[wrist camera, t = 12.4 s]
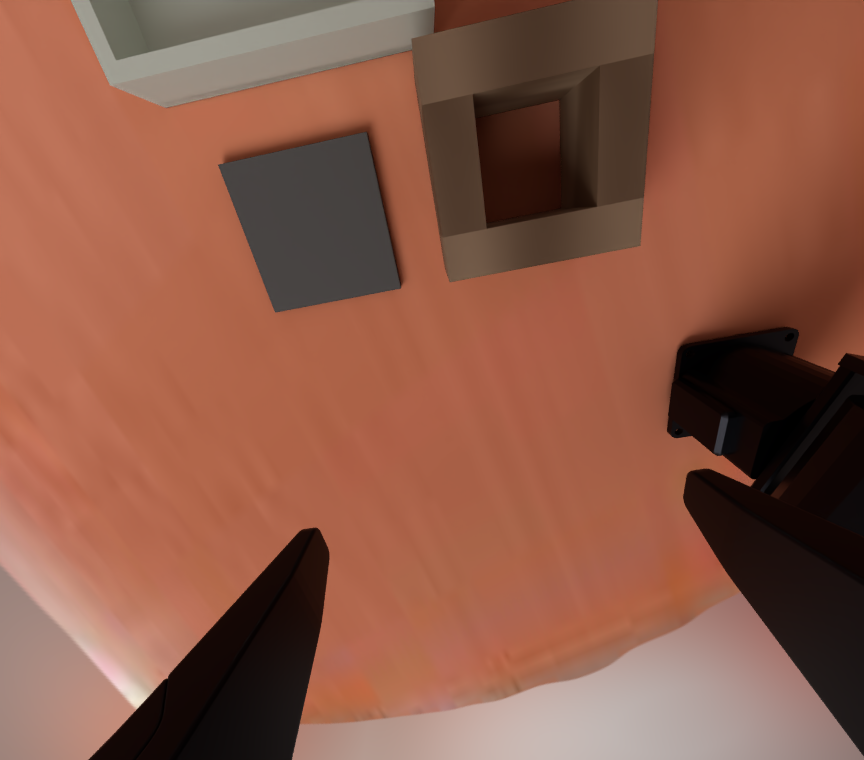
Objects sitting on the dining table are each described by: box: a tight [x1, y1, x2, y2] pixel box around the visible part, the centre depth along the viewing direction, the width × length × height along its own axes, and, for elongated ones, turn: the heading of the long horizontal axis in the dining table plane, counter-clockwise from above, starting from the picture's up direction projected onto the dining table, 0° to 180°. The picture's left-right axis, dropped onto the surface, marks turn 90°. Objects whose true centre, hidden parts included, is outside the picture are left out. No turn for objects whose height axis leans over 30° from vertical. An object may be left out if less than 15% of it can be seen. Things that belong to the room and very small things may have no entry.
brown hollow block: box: [411, 0, 658, 282], centre depth 15 cm, size 8×8×4 cm
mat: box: [218, 132, 401, 312], centre depth 17 cm, size 7×7×1 cm
